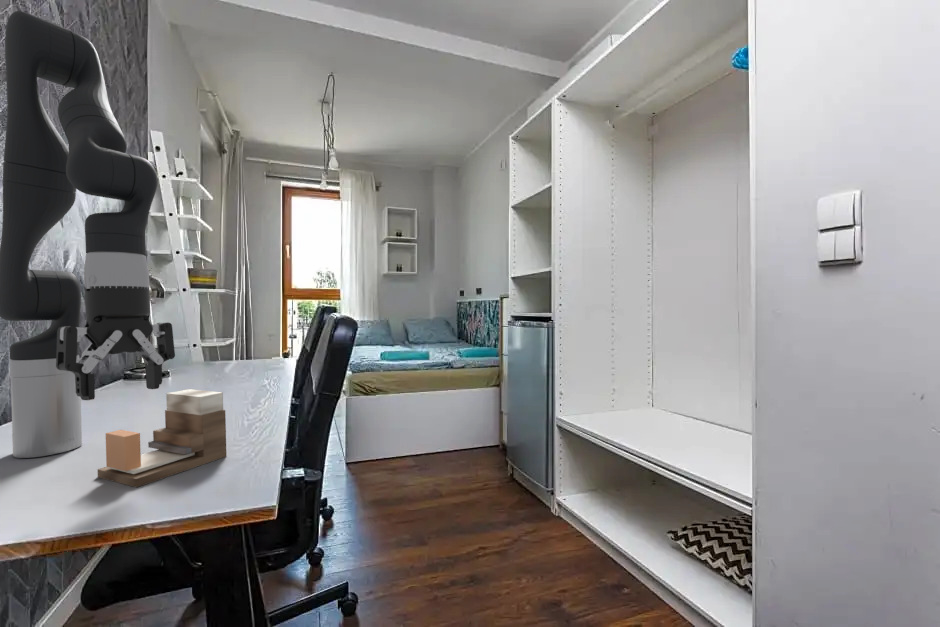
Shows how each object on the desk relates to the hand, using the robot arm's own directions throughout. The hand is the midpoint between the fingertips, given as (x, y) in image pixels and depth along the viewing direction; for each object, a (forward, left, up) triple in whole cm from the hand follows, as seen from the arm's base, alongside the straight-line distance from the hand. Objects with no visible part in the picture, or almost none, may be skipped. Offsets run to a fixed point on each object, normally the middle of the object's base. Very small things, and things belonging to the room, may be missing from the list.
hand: (122, 393), depth 66 cm
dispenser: (0, +7, -13) cm, 15 cm away
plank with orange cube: (0, +4, -11) cm, 12 cm away
